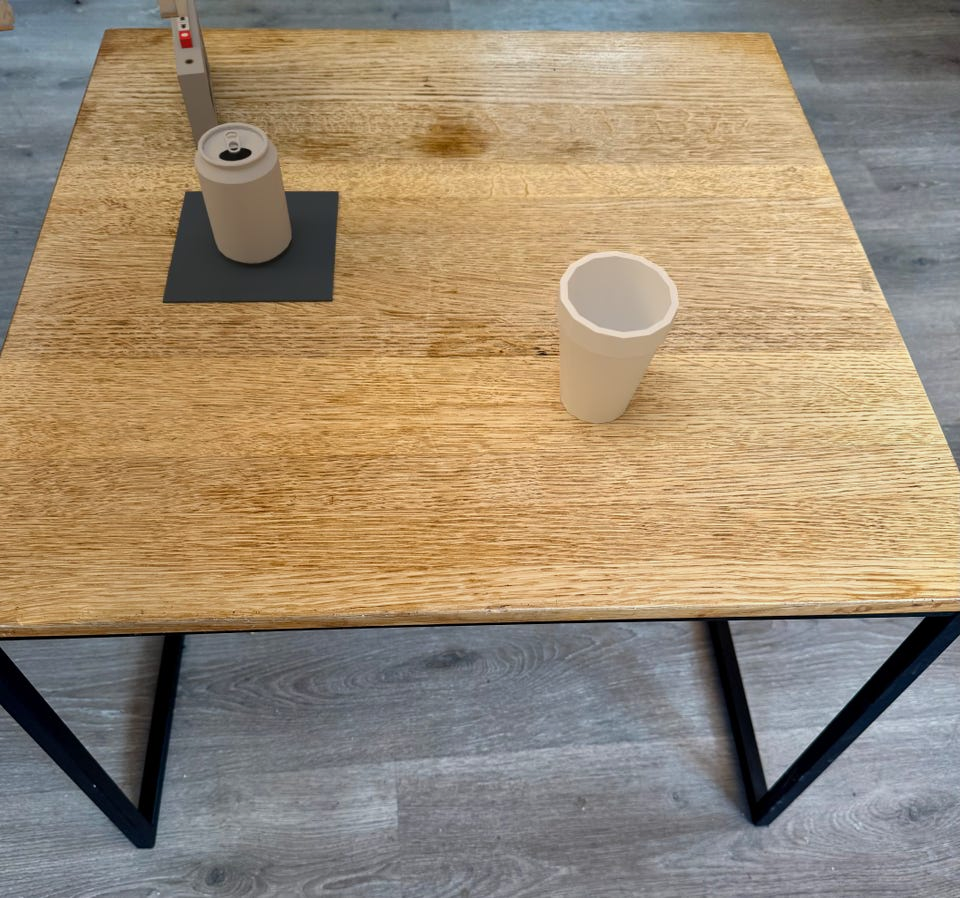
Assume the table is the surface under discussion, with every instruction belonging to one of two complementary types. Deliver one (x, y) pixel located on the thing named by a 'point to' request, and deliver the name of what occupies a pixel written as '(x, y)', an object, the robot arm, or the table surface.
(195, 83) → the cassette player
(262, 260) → the can
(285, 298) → the mat
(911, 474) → the table surface
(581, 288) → the foam cup
